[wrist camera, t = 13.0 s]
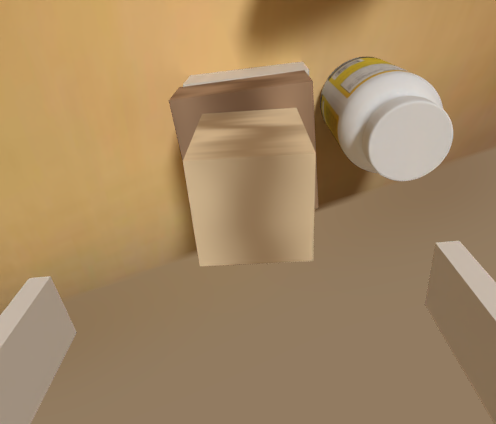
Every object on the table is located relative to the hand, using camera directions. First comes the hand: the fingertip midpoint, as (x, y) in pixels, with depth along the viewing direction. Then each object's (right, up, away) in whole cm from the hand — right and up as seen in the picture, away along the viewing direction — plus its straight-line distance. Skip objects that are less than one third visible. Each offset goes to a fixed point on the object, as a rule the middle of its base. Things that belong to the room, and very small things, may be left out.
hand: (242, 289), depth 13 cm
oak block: (0, +7, +12) cm, 14 cm away
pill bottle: (+9, +12, +18) cm, 24 cm away
